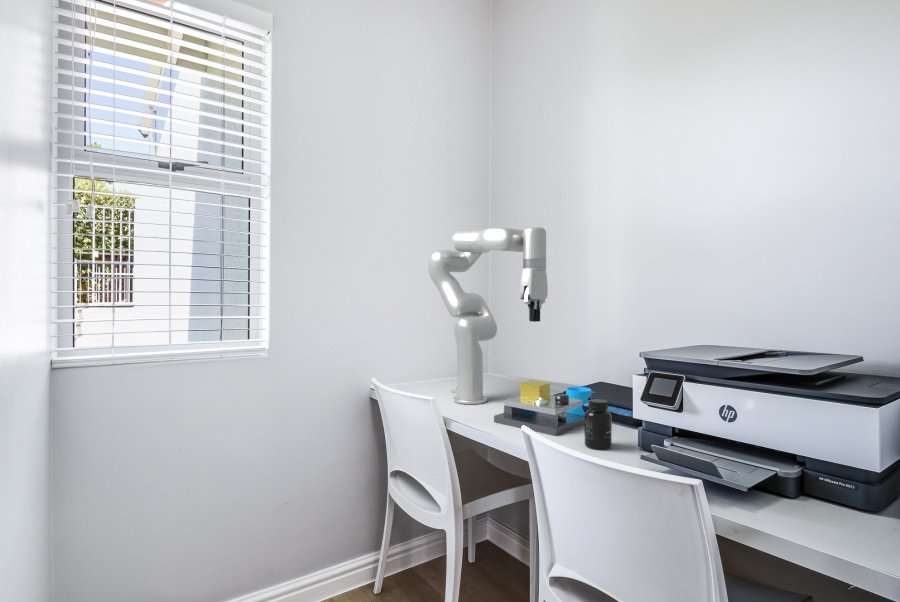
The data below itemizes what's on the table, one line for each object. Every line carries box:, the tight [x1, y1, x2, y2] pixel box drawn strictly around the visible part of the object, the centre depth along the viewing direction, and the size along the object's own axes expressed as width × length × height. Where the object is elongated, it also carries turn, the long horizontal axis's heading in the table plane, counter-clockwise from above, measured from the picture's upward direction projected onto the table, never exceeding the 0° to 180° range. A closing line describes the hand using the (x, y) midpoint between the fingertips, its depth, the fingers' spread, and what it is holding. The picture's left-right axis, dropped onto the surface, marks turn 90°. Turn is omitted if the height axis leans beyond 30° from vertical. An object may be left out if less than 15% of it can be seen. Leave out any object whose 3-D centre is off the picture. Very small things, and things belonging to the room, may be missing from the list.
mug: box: [565, 386, 596, 416], centre depth 162 cm, size 12×8×8 cm
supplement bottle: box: [584, 398, 613, 451], centre depth 126 cm, size 7×7×12 cm
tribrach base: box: [493, 404, 585, 437], centre depth 150 cm, size 22×19×5 cm
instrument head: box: [504, 380, 583, 415], centre depth 149 cm, size 18×16×7 cm
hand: (534, 321), depth 158 cm, fingers closed
